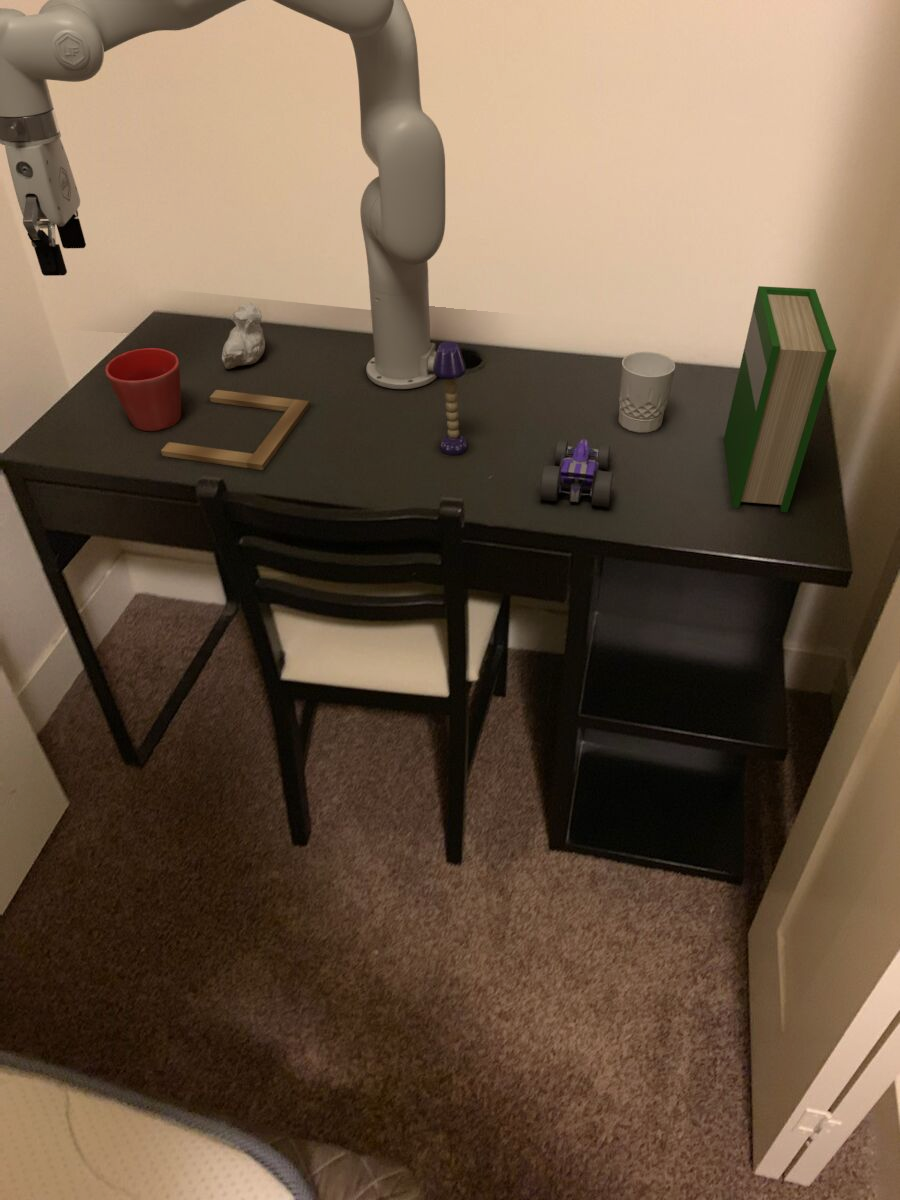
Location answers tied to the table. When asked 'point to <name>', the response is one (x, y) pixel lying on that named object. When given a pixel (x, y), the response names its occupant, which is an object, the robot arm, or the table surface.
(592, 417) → the table surface
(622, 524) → the table surface
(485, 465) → the table surface
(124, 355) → the flower pot
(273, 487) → the table surface
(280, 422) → the frame
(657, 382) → the white cup
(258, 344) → the bust
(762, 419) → the hardback book
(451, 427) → the toy lamp
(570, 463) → the toy race car
